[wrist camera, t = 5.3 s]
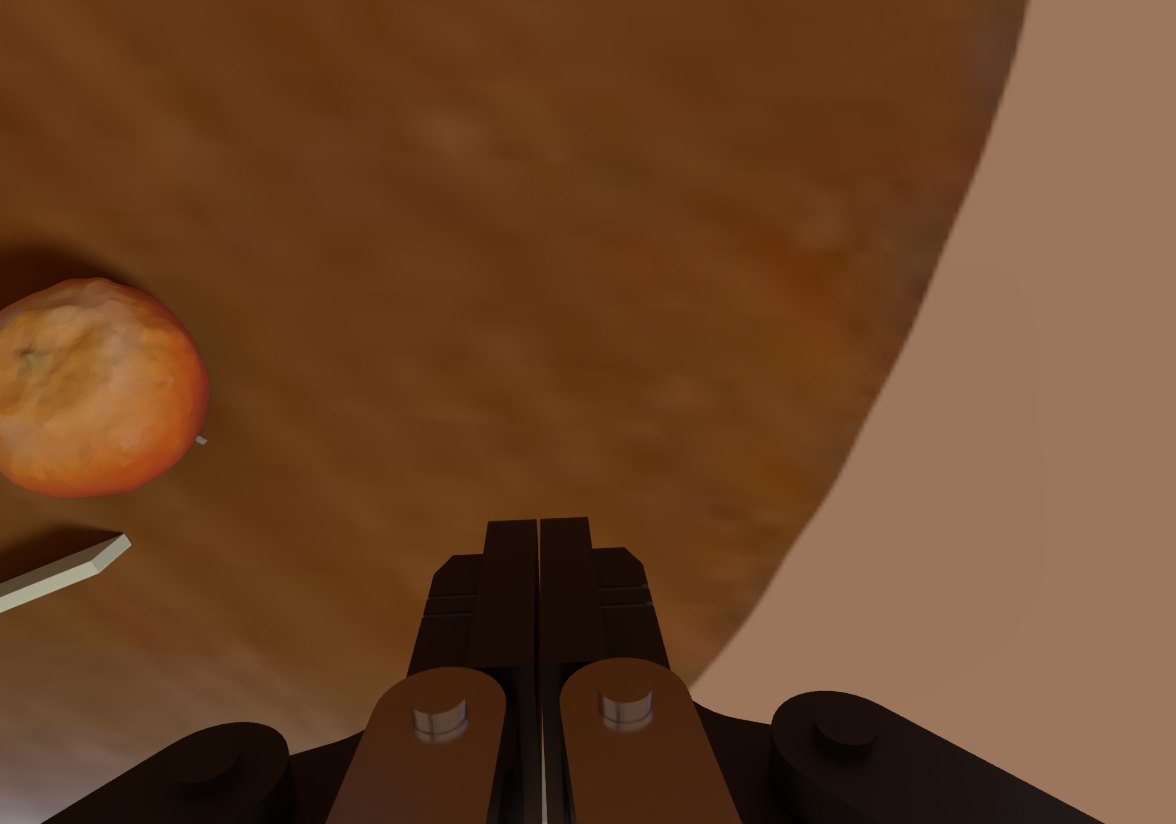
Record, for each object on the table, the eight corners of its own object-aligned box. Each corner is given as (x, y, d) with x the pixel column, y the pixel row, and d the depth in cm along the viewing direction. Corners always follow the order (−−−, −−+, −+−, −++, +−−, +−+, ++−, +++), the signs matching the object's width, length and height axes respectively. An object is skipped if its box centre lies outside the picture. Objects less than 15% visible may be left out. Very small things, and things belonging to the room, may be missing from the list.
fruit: (60, 519, 31) (-114, 493, 23) (76, 340, 33) (-80, 260, 25) (256, 503, 31) (150, 472, 23) (261, 326, 33) (164, 243, 25)
